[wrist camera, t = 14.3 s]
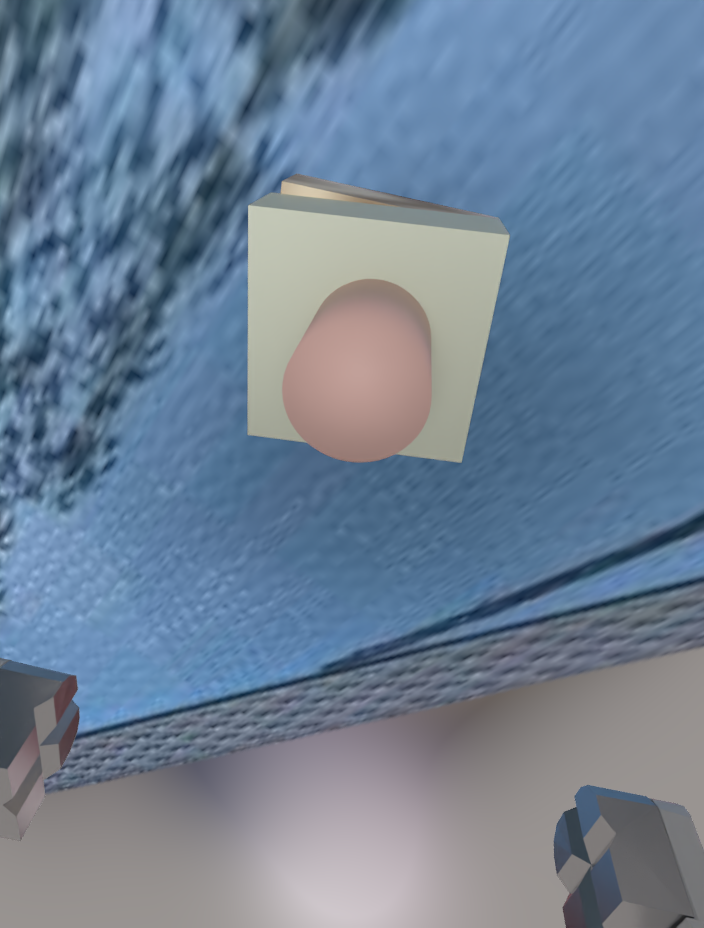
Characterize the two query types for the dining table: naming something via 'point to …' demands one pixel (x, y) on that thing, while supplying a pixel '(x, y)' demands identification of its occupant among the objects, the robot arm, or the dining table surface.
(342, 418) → the rose cylinder
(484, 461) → the dining table surface
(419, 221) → the tower top
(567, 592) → the dining table surface
